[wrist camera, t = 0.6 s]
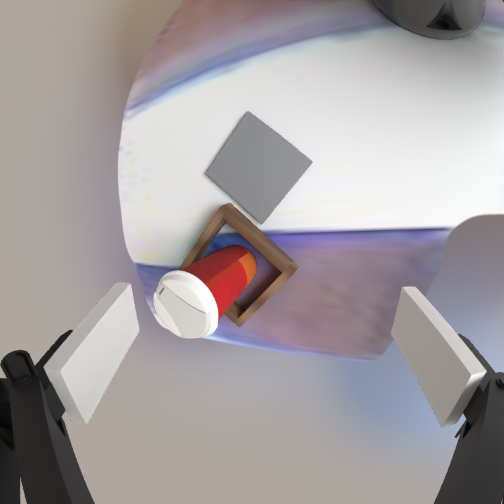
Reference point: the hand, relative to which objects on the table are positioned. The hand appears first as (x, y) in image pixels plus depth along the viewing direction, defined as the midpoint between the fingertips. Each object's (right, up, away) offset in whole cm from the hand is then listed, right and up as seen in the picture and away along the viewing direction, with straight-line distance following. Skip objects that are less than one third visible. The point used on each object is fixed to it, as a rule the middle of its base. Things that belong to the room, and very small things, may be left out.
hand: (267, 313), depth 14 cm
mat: (0, +13, +23) cm, 26 cm away
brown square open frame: (-3, +1, +28) cm, 28 cm away
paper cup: (-2, +1, +28) cm, 28 cm away
